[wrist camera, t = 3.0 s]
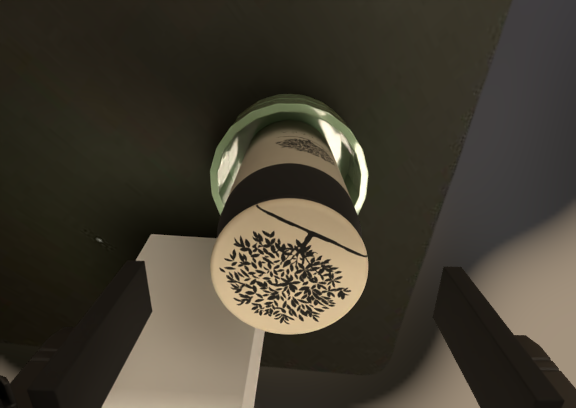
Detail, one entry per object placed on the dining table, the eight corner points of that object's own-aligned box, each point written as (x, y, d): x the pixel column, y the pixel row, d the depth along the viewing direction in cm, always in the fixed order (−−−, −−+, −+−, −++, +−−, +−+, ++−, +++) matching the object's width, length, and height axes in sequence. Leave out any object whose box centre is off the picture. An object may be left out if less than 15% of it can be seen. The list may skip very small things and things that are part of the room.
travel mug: (298, 217, 36) (307, 363, 19) (229, 173, 34) (173, 291, 18) (350, 152, 33) (410, 256, 17) (277, 100, 32) (265, 160, 15)
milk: (269, 241, 37) (236, 588, 13) (264, 330, 42) (232, 707, 18) (151, 234, 37) (-100, 574, 13) (158, 324, 42) (-18, 699, 18)
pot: (226, 220, 36) (215, 251, 31) (219, 92, 32) (204, 102, 26) (349, 222, 36) (360, 253, 31) (361, 95, 32) (376, 105, 26)
